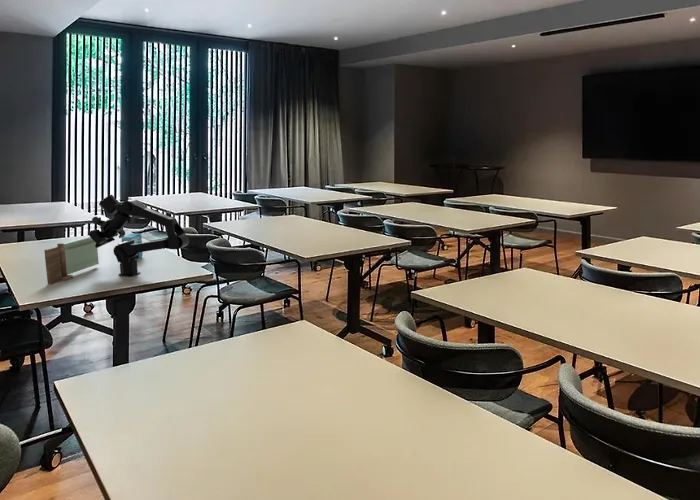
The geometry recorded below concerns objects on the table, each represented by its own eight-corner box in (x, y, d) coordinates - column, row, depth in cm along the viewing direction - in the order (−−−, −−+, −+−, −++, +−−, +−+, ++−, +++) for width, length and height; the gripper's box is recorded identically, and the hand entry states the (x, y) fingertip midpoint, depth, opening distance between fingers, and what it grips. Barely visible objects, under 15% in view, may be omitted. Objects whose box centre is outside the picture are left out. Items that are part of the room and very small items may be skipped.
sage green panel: (98, 263, 259) (96, 235, 257) (67, 274, 238) (64, 244, 236) (92, 263, 260) (90, 235, 257) (60, 274, 239) (57, 243, 236)
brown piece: (73, 278, 239) (69, 242, 236) (54, 284, 228) (50, 247, 226) (62, 277, 240) (59, 242, 237) (43, 284, 229) (39, 247, 226)
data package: (132, 262, 270) (130, 237, 267) (122, 262, 270) (121, 237, 268) (143, 257, 282) (141, 233, 279) (134, 257, 282) (132, 233, 279)
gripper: (117, 206, 251) (96, 230, 255) (90, 211, 233) (68, 237, 237) (134, 224, 251) (113, 248, 255) (109, 231, 233) (87, 256, 237)
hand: (96, 247), depth 246 cm, fingers closed
